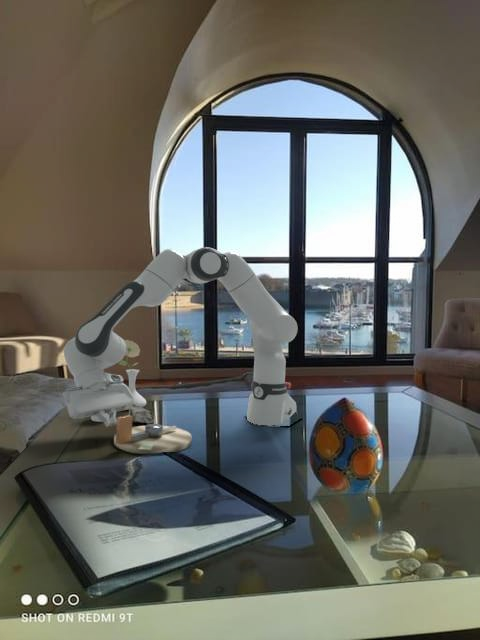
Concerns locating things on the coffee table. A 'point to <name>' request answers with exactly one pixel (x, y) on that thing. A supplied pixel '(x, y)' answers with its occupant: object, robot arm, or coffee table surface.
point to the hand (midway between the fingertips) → (112, 424)
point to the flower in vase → (133, 372)
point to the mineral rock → (140, 414)
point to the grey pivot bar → (151, 430)
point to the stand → (157, 442)
